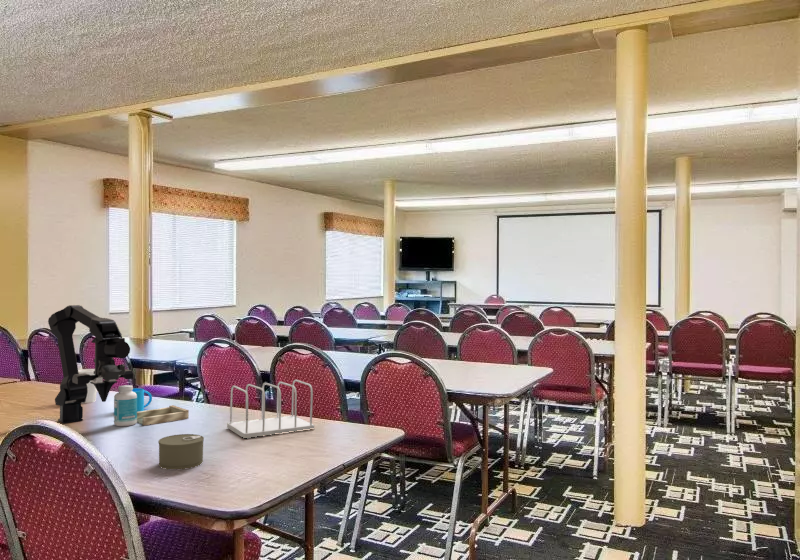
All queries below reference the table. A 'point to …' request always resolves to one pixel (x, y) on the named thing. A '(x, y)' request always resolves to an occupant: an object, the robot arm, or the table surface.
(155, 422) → the cradle
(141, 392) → the mug
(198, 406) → the table surface
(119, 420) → the pill bottle
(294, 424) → the file sorter
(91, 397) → the foam cup
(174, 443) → the can
